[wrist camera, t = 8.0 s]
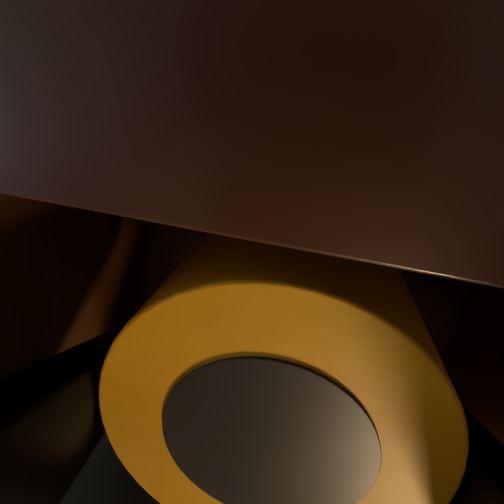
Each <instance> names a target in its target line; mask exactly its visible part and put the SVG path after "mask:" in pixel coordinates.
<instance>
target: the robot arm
mask: <svg viewBox="0 0 504 504" xmlns="http://www.w3.org/2000/svg"><path fill="white" fill-rule="evenodd" d="M123 327H124V326H119V327H117V328H114V329H112V330H110V331H108V332H105V333H103V334H101V335H99V336H96V337H94V338H92V339H90V340H87V341H85V342H83V343H81V344H78V345H76V346H74V347H72V348H69V349H67V350H65V351H63V352H60V353H58V354H56V355H53V356H51V357H49V358H47V359H44V360H42V361H40V362H38V363H35V364H33V365H31V366H29V367H26V368H24V369H22V370H20V371H17V372H15V373H13V374H11V375H8V376H6V377H4V378H2V379H0V504H60V503H61V501H62V499H63V498H64V496H65V495H66V493H67V491H68V490H69V488H70V487H71V485H72V484H73V482H74V480H75V479H76V477H77V476H78V474H79V473H80V471H81V469H82V468H83V466H84V465H85V463H86V461H87V460H88V458H89V457H90V455H91V454H92V452H93V450H94V449H95V447H96V446H97V444H98V442H99V441H100V439H101V438H102V436H103V434H104V433H105V428H104V425H103V422H102V417H101V412H100V407H99V382H100V374H101V370H102V367H103V363H104V360H105V357H106V354H107V352H108V350H109V348H110V347H111V345H112V343H113V341H114V339H115V338H116V336H117V335H118V334H119V333H120V331H121V330H122V329H123ZM462 407H463V410H464V414H465V418H466V422H467V426H468V439H469V452H468V459H467V465H466V471H465V473H464V476H463V479H462V482H461V484H460V487H459V489H458V490H457V492H456V494H455V495H454V497H453V499H452V500H451V502H450V504H504V444H503V443H501V442H500V441H499V440H498V439H497V438H496V437H495V436H494V435H493V434H492V433H491V432H490V431H489V430H488V429H487V428H486V427H485V426H484V425H483V424H482V423H481V422H480V421H479V420H478V419H477V418H476V417H475V416H474V415H473V414H472V413H471V412H470V411H468V410H467V409H466V408H465V407H464V406H463V405H462Z"/></svg>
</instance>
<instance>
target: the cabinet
mask: <svg viewBox="0 0 504 504" xmlns="http://www.w3.org/2000/svg"><path fill="white" fill-rule="evenodd" d="M0 193H1V194H7V195H12V196H17V197H23V198H28V199H33V200H38V201H44V202H49V203H54V204H59V205H65V206H70V207H75V208H81V209H86V210H91V211H96V212H102V213H107V214H112V215H117V216H123V217H128V218H133V219H139V220H144V221H149V222H154V223H160V224H165V225H170V226H176V227H181V228H186V229H191V230H197V231H202V232H207V233H212V234H218V235H223V236H228V237H234V238H239V239H244V240H249V241H255V242H260V243H265V244H270V245H276V246H281V247H286V248H292V249H297V250H302V251H307V252H313V253H318V254H323V255H328V256H334V257H339V258H344V259H350V260H355V261H360V262H365V263H371V264H376V265H381V266H386V267H392V268H397V269H402V270H408V271H413V272H418V273H423V274H429V275H434V276H439V277H445V278H450V279H455V280H460V281H466V282H471V283H476V284H481V285H487V286H492V287H497V288H503V289H504V0H0Z"/></svg>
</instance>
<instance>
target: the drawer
mask: <svg viewBox="0 0 504 504" xmlns="http://www.w3.org/2000/svg"><path fill="white" fill-rule="evenodd" d="M207 234H208V233H207V232H202V231H197V230H191V229H186V228H181V227H176V226H170V225H165V224H160V223H154V222H149V221H144V220H139V219H133V218H128V217H123V216H117V215H112V214H107V213H102V212H96V211H91V210H86V209H81V208H75V207H70V206H65V205H59V204H54V203H49V202H44V201H38V200H33V199H28V198H23V197H17V196H12V195H7V194H1V193H0V379H2V378H4V377H6V376H8V375H11V374H13V373H15V372H17V371H20V370H22V369H24V368H26V367H29V366H31V365H33V364H35V363H38V362H40V361H42V360H44V359H47V358H49V357H51V356H53V355H56V354H58V353H60V352H63V351H65V350H67V349H69V348H72V347H74V346H76V345H78V344H81V343H83V342H85V341H87V340H90V339H92V338H94V337H96V336H99V335H101V334H103V333H105V332H108V331H110V330H112V329H114V328H117V327H119V326H125V325H126V324H127V323H128V321H129V320H130V319H131V318H132V317H133V316H134V315H135V314H136V313H137V312H138V310H139V309H140V308H141V307H142V306H143V305H144V304H145V303H146V302H147V300H148V299H149V298H150V297H151V296H152V295H153V294H154V293H155V292H156V290H157V289H158V288H159V287H160V286H161V285H162V284H163V283H164V282H165V281H166V279H167V278H168V277H169V276H170V275H171V274H172V273H173V272H174V271H175V269H176V268H177V267H178V266H179V265H180V264H181V263H182V262H183V261H184V259H185V258H186V257H187V256H188V255H189V254H190V253H191V252H192V251H193V250H194V248H195V247H196V246H197V245H198V244H199V243H200V242H201V241H202V240H203V238H204V237H205V236H206V235H207ZM400 271H401V273H402V275H403V278H404V280H405V282H406V284H407V286H408V288H409V291H410V293H411V295H412V297H413V299H414V302H415V304H416V306H417V308H418V310H419V312H420V315H421V317H422V319H423V321H424V323H425V325H426V328H427V330H428V332H429V334H430V336H431V338H432V341H433V343H434V345H435V347H436V349H437V352H438V354H439V356H440V358H441V360H442V362H443V365H444V367H445V369H446V371H447V373H448V375H449V378H450V380H451V382H452V384H453V386H454V389H455V391H456V393H457V395H458V398H459V400H460V402H461V404H462V405H463V406H464V407H465V408H466V409H467V410H468V411H470V412H471V413H472V414H473V415H474V416H475V417H476V418H477V419H478V420H479V421H480V422H481V423H482V424H483V425H484V426H485V427H486V428H487V429H488V430H489V431H490V432H491V433H492V434H493V435H494V436H495V437H496V438H497V439H498V440H499V441H500V442H501V443H503V444H504V289H503V288H497V287H492V286H487V285H481V284H476V283H471V282H466V281H460V280H455V279H450V278H445V277H439V276H434V275H429V274H423V273H418V272H413V271H408V270H402V269H400ZM60 504H160V503H159V502H158V501H157V500H156V499H154V498H153V497H152V496H151V495H150V494H149V493H148V492H147V491H146V490H145V489H144V488H143V487H142V486H141V485H140V484H139V483H138V482H137V481H136V480H135V479H134V478H133V476H132V475H131V474H130V473H129V472H128V470H127V469H126V468H125V466H124V465H123V463H122V462H121V460H120V459H119V457H118V456H117V454H116V453H115V451H114V449H113V447H112V445H111V443H110V441H109V439H108V436H107V434H106V431H105V433H104V434H103V436H102V438H101V439H100V441H99V442H98V444H97V446H96V447H95V449H94V450H93V452H92V454H91V455H90V457H89V458H88V460H87V461H86V463H85V465H84V466H83V468H82V469H81V471H80V473H79V474H78V476H77V477H76V479H75V480H74V482H73V484H72V485H71V487H70V488H69V490H68V491H67V493H66V495H65V496H64V498H63V499H62V501H61V503H60Z"/></svg>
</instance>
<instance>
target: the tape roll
mask: <svg viewBox="0 0 504 504" xmlns="http://www.w3.org/2000/svg"><path fill="white" fill-rule="evenodd" d="M99 407H100V412H101V417H102V422H103V425H104V428H105V431H106V434H107V436H108V439H109V441H110V443H111V445H112V447H113V449H114V451H115V453H116V454H117V456H118V457H119V459H120V460H121V462H122V463H123V465H124V466H125V468H126V469H127V470H128V472H129V473H130V474H131V475H132V476H133V478H134V479H135V480H136V481H137V482H138V483H139V484H140V485H141V486H142V487H143V488H144V489H145V490H146V491H147V492H148V493H149V494H150V495H151V496H152V497H153V498H154V499H156V500H157V501H158V502H159V503H160V504H450V502H451V500H452V499H453V497H454V495H455V494H456V492H457V490H458V489H459V487H460V484H461V482H462V479H463V476H464V473H465V471H466V465H467V459H468V452H469V439H468V426H467V422H466V418H465V414H464V410H463V407H462V404H461V402H460V400H459V398H458V395H457V393H456V391H455V389H454V386H453V384H452V382H451V380H450V378H449V375H448V373H447V371H446V369H445V367H444V365H443V362H442V360H441V358H440V356H439V354H438V352H437V349H436V347H435V345H434V343H433V341H432V338H431V336H430V334H429V332H428V330H427V328H426V325H425V323H424V321H423V319H422V317H421V315H420V312H419V310H418V308H417V306H416V304H415V302H414V299H413V297H412V295H411V293H410V291H409V288H408V286H407V284H406V282H405V280H404V278H403V275H402V273H401V271H400V269H397V268H392V267H386V266H381V265H376V264H371V263H365V262H360V261H355V260H350V259H344V258H339V257H334V256H328V255H323V254H318V253H313V252H307V251H302V250H297V249H292V248H286V247H281V246H276V245H270V244H265V243H260V242H255V241H249V240H244V239H239V238H234V237H228V236H223V235H218V234H212V233H208V234H207V235H206V236H205V237H204V238H203V240H202V241H201V242H200V243H199V244H198V245H197V246H196V247H195V248H194V250H193V251H192V252H191V253H190V254H189V255H188V256H187V257H186V258H185V259H184V261H183V262H182V263H181V264H180V265H179V266H178V267H177V268H176V269H175V271H174V272H173V273H172V274H171V275H170V276H169V277H168V278H167V279H166V281H165V282H164V283H163V284H162V285H161V286H160V287H159V288H158V289H157V290H156V292H155V293H154V294H153V295H152V296H151V297H150V298H149V299H148V300H147V302H146V303H145V304H144V305H143V306H142V307H141V308H140V309H139V310H138V312H137V313H136V314H135V315H134V316H133V317H132V318H131V319H130V320H129V321H128V323H127V324H126V325H125V326H124V327H123V329H122V330H121V331H120V333H119V334H118V335H117V336H116V338H115V339H114V341H113V343H112V345H111V347H110V348H109V350H108V352H107V354H106V357H105V360H104V363H103V367H102V370H101V374H100V382H99Z"/></svg>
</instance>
